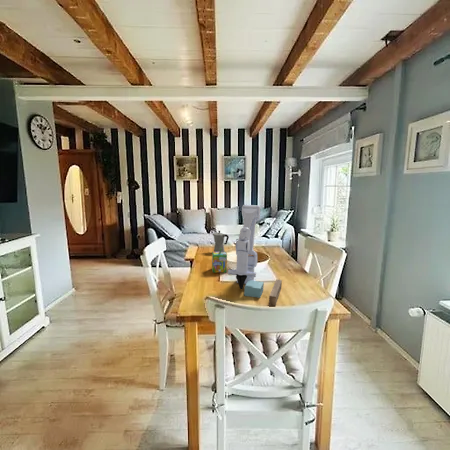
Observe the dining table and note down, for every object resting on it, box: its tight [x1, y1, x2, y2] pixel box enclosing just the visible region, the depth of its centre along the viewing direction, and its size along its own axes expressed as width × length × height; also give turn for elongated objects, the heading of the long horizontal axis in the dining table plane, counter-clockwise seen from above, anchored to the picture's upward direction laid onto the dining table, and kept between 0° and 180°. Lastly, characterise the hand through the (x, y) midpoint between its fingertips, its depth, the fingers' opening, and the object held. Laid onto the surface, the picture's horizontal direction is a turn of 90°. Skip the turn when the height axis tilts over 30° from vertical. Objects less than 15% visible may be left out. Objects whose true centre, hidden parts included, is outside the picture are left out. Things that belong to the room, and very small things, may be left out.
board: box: [268, 279, 283, 307], centre depth 139 cm, size 3×24×4 cm, turn 162°
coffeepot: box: [212, 230, 229, 252], centre depth 225 cm, size 15×9×18 cm, turn 59°
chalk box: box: [211, 249, 228, 274], centre depth 177 cm, size 9×9×15 cm
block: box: [243, 280, 265, 299], centre depth 142 cm, size 8×10×5 cm
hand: (241, 288), depth 144 cm, fingers closed
